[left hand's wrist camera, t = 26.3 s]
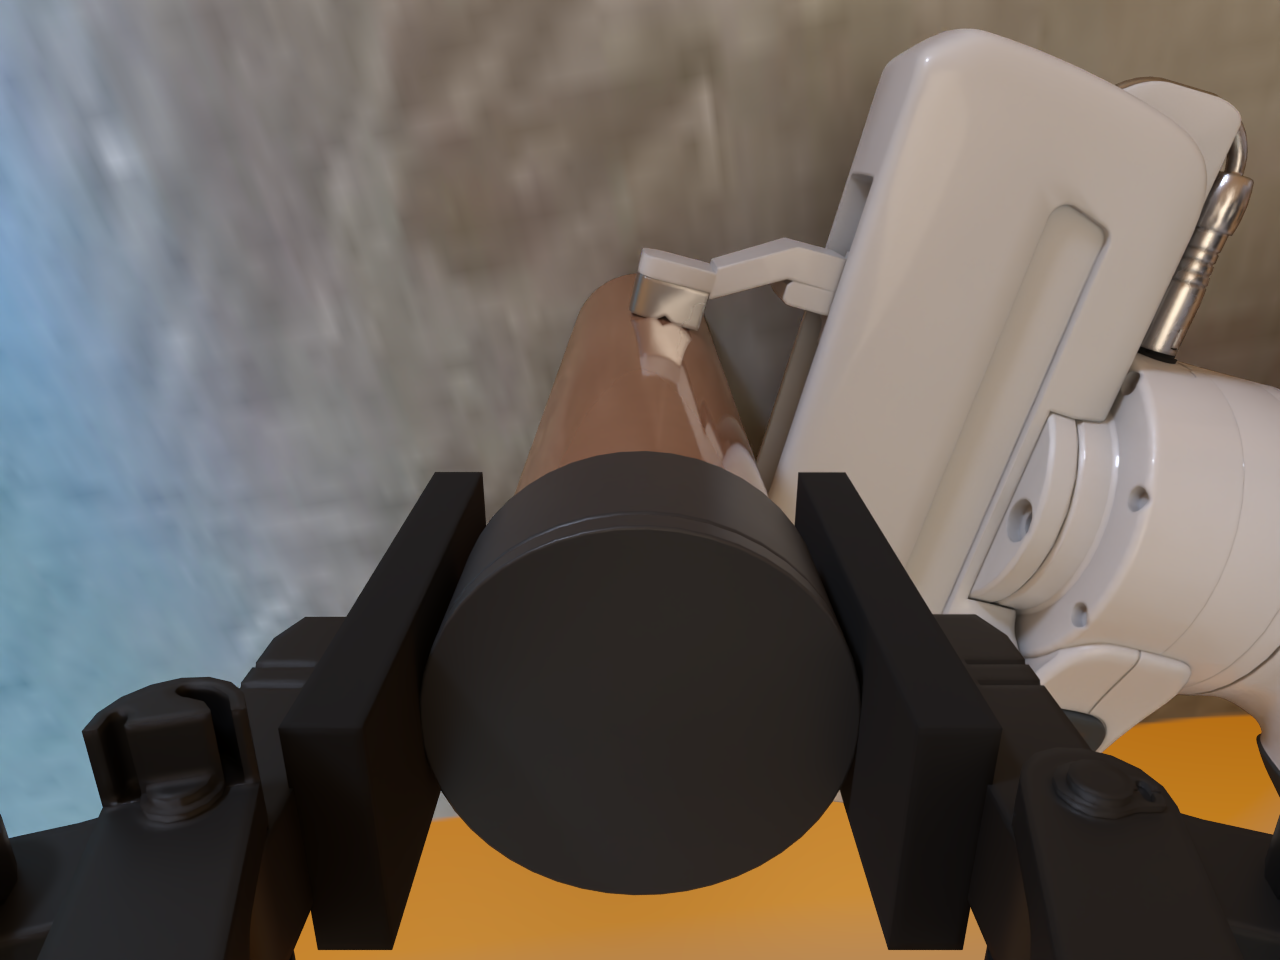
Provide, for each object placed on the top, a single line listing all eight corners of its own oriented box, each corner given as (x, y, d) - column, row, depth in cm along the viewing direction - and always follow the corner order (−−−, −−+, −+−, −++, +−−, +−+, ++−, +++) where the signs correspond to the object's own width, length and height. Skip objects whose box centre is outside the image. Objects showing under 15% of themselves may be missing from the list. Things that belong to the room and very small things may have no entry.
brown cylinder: (728, 377, 30) (868, 762, 11) (605, 425, 30) (551, 866, 12) (678, 251, 28) (748, 460, 10) (551, 305, 29) (394, 597, 10)
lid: (877, 508, 12) (934, 598, 9) (750, 799, 13) (772, 934, 11) (507, 402, 11) (473, 470, 9) (425, 719, 13) (380, 844, 11)
